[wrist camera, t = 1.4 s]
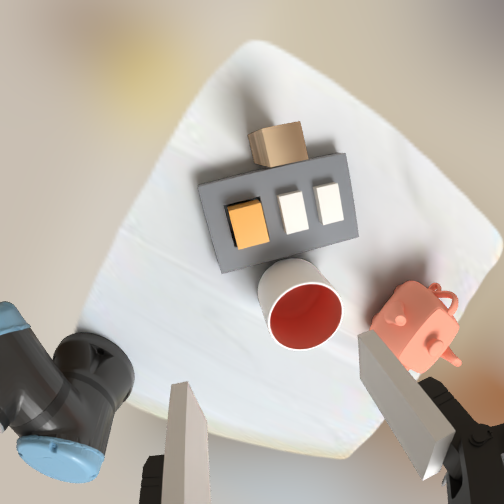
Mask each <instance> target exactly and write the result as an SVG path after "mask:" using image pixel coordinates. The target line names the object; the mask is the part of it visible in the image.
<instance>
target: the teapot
mask: <svg viewBox="0 0 504 504" xmlns="http://www.w3.org/2000/svg"><path fill="white" fill-rule="evenodd" d="M436 289H437V290H436ZM435 290H436V291H435ZM439 298H451V299H452V303H451V306H450V307H449V309H448V308H447V307H446V306H445V305H444V304H443V302H442V301H441V300H440V299H439ZM457 308H458V298H457V296H456V295H455V294H454V293H453V292H450V291H441V286H440V284H438V283H433V284H431V285H430V286H429V287H428V289H427V288H426V287H425V286H423V285H422V284H420V283H419V282H416V281H407V282H405V283H404V284H403V285H398V286H397V287H396V288H395V290H394V294H393V295H392V296H391V297H390V299H389V300H388V301H387V302H386V303H385V305H384V306H383V308H382V309H381V310H380V312H379V313H377V314H375V315H374V317H373V318H372V325H371V327H370V330H374V331H375V332H376V334H377V335H378V336H379V337H380V338H381V340H382V341H383V342H384V343H385V344H386V345H387V347H388V348H389V349H390V350H391V351H392V353H393V354H394V355H395V356H396V357H397V359H398V360H399V361H400V362H401V363H402V365H403V366H404V367H405V368H406V369H407V371H409V369H411V370H413V371H416V372H418V373H424V372H425V371H426V370H428V369H429V368H430V367H431V366H432V365H433V364H434V363H435V362H436V361H437V359H438V358H439V357H442V358H444V359H446V360H447V361H449V362H450V363H452V364H453V365H454V366H457V367H458V366H460V365H461V364H462V362H461V360H460V359H459V358H458V357H457V356H456V355H455V354H454V353H453V352H452V350H451V349H450V347H449V344H450V343H451V341H452V340H453V339H454V337H455V335H456V334H457V332H458V330H459V325H458V323H457V321H456V319H455V318H454V316H453V315H454V313H455V312H456V310H457ZM370 330H369V331H370Z"/></svg>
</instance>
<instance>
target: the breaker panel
mask: <svg viewBox="0 0 504 504" xmlns="http://www.w3.org/2000/svg"><path fill="white" fill-rule="evenodd" d="M198 191H199V195H200V198H201V202H202V206H203V209H204V213H205V217H206V220H207V224H208V228H209V231H210V235H211V238H212V242H213V246H214V249H215V253H216V256H217V260H218V263H219V267H220V270H221V273H222V274H223V273H227V272H231V271H235V270H239V269H242V268H246V267H250V266H254V265H257V264H261V263H265V262H269V261H272V260H276V259H280V258H284V257H287V256H291V255H295V254H298V253H302V252H306V251H310V250H313V249H317V248H321V247H324V246H328V245H332V244H335V243H339V242H343V241H346V240H350V239H353V238H357V237H359V234H358V227H357V219H356V212H355V205H354V199H353V193H352V186H351V180H350V175H349V169H348V163H347V158H346V153H335V154H330V155H325V156H320V157H315V158H310V159H307V160H302V161H298V162H293V163H288V164H284V165H279V166H275V167H268V168H264V169H260V170H256V171H251V172H247V173H243V174H239V175H235V176H231V177H227V178H223V179H219V180H216V181H212V182H208V183H204V184H201V185H198ZM255 197H258V200H259V202H260V203H261V206H262V210H263V215H264V219H265V223H266V228H267V232H268V236H269V241H270V242H266V243H262V244H259V245H255V246H251V247H247V248H243V249H240V250H238V246H237V243H236V241H233V239H232V236H231V232H230V228H229V224H228V220H227V216H226V212H225V209H224V205H228V204H231V203H235V202H239V201H243V200H247V199H251V198H255Z"/></svg>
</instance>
